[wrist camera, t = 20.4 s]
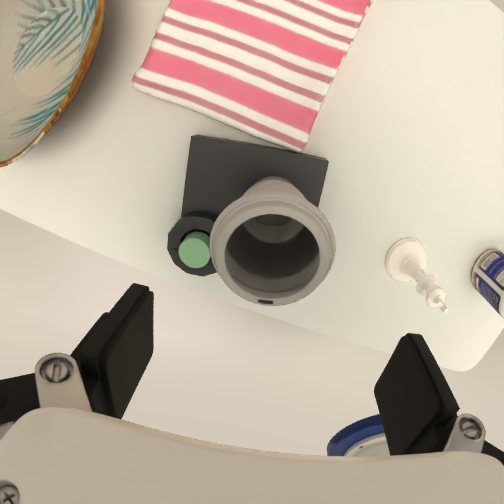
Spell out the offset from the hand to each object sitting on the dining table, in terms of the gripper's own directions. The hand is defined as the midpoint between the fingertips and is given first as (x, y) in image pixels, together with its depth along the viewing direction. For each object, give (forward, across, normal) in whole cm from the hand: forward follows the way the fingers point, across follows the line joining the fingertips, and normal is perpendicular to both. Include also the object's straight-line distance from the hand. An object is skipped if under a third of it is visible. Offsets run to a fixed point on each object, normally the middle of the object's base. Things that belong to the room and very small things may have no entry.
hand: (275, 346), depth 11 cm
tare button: (+17, +6, +4) cm, 19 cm away
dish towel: (+20, +5, -18) cm, 28 cm away
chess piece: (+21, -15, +3) cm, 26 cm away
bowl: (+20, +29, -14) cm, 38 cm away
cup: (+18, 0, -1) cm, 19 cm away
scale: (+20, +3, +1) cm, 20 cm away
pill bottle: (+21, -27, +2) cm, 34 cm away
